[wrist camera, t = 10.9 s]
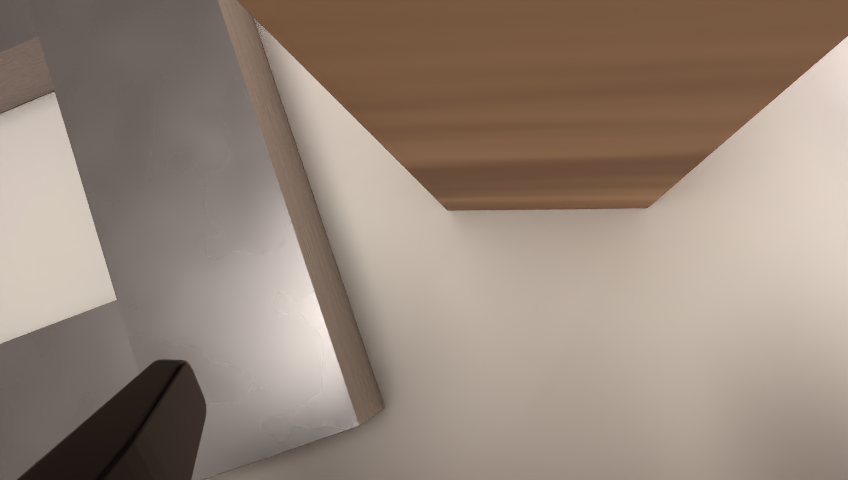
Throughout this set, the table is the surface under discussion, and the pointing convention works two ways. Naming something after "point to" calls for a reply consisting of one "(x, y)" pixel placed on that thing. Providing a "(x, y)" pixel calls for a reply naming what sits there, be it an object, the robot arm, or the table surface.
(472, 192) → the walnut peg
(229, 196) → the post plate
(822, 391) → the table surface
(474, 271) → the table surface
